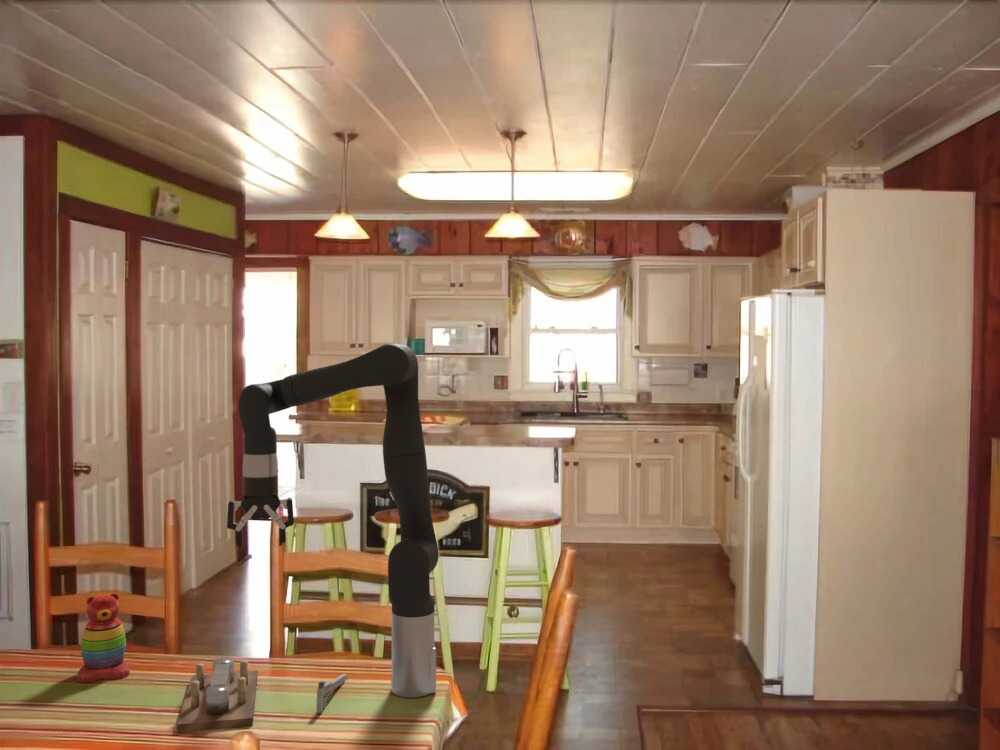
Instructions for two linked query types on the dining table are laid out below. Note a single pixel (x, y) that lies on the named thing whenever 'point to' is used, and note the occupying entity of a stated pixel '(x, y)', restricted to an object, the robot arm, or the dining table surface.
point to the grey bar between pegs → (220, 686)
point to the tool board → (239, 701)
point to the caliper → (327, 691)
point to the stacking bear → (103, 641)
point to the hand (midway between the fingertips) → (260, 546)
